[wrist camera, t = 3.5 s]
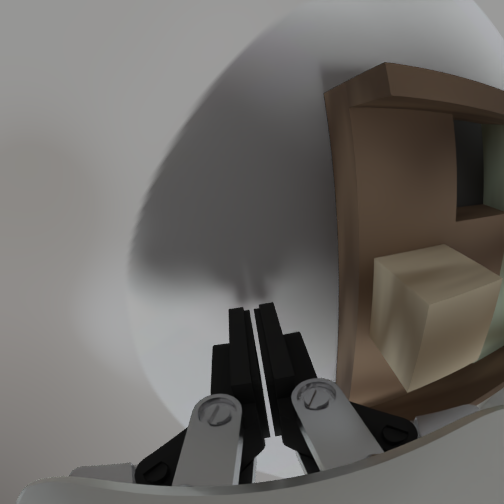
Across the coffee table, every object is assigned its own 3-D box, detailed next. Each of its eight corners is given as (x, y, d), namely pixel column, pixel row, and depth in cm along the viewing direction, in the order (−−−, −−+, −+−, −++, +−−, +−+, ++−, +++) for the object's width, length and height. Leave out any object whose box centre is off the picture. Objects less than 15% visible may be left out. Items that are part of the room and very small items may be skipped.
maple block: (433, 316, 13) (477, 359, 9) (369, 335, 12) (407, 392, 9) (444, 244, 11) (502, 278, 7) (374, 258, 11) (429, 304, 7)
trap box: (496, 332, 18) (531, 365, 13) (334, 395, 17) (359, 459, 12) (520, 119, 12) (576, 126, 6) (323, 93, 11) (385, 62, 6)
